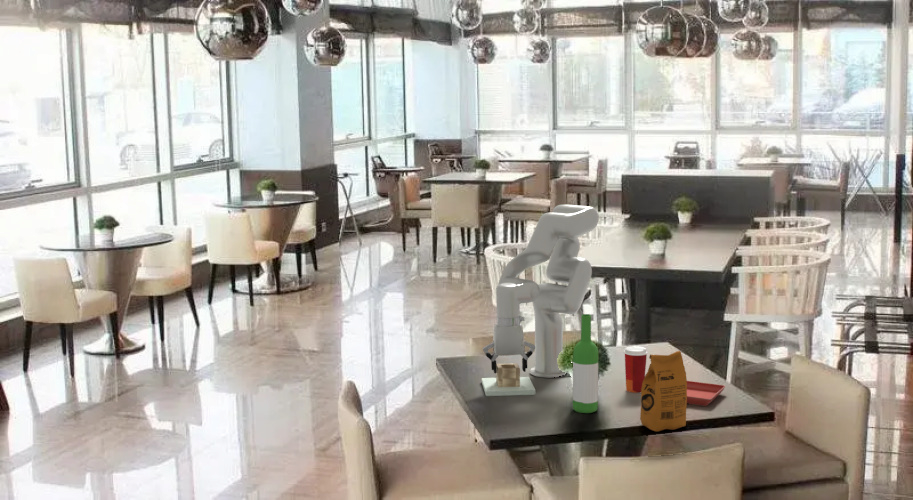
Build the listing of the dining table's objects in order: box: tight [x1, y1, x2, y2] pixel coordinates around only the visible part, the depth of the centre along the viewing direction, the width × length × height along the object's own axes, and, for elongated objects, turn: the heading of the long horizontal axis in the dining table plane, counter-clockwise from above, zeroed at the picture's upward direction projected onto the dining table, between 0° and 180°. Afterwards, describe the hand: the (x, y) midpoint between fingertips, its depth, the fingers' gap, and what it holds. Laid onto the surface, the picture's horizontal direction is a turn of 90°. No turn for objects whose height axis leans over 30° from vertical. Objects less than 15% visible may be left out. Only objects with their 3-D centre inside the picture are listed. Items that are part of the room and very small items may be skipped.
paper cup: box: [623, 345, 648, 394], centre depth 365 cm, size 8×8×14 cm
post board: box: [481, 376, 536, 397], centre depth 369 cm, size 16×16×6 cm
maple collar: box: [495, 362, 521, 387], centre depth 369 cm, size 7×7×6 cm
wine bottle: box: [572, 313, 599, 414], centre depth 343 cm, size 8×8×30 cm
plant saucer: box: [687, 380, 726, 407], centre depth 358 cm, size 18×18×3 cm
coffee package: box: [639, 350, 688, 432], centre depth 328 cm, size 10×12×22 cm
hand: (509, 371), depth 369 cm, fingers open, 9 cm apart
